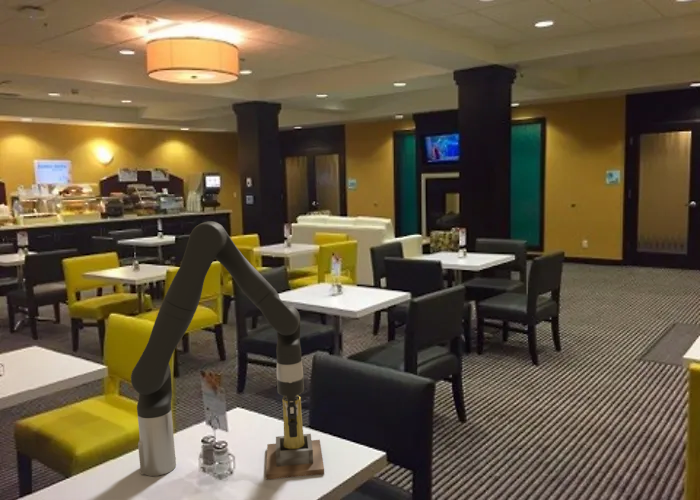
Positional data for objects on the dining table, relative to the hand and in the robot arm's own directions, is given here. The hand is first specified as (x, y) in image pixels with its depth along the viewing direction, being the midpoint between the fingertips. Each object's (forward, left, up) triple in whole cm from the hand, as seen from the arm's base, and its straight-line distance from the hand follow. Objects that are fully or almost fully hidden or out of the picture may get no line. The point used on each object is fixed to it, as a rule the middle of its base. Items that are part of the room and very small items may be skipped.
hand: (293, 431), depth 170 cm
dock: (0, 0, -9) cm, 9 cm away
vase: (0, 0, -4) cm, 4 cm away
